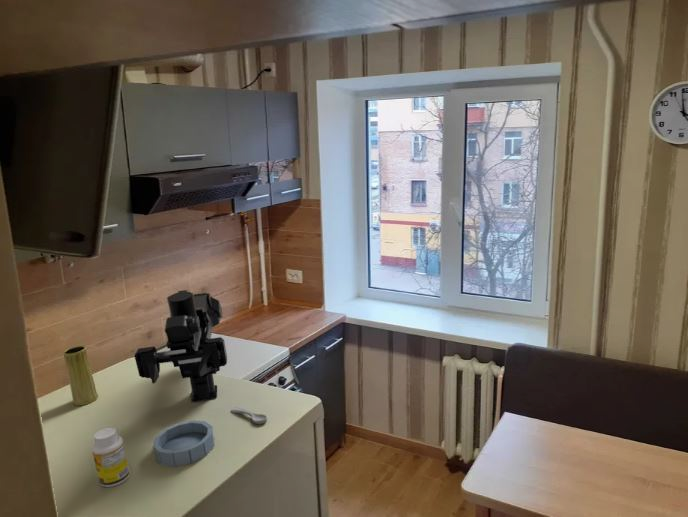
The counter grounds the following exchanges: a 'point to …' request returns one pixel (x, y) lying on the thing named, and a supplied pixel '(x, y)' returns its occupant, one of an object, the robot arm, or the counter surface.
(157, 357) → the robot arm
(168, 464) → the bowl
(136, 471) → the counter surface
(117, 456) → the supplement bottle
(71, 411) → the counter surface
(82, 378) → the vase
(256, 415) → the spoon
